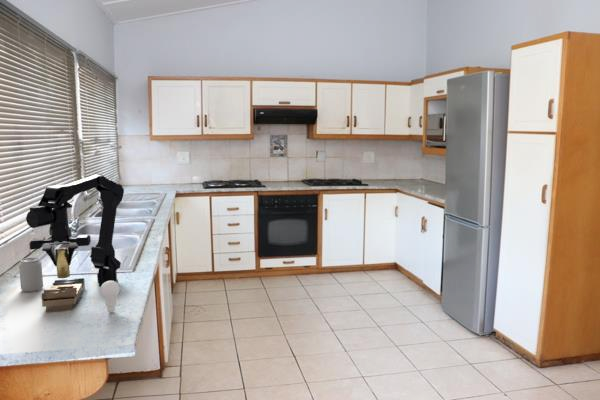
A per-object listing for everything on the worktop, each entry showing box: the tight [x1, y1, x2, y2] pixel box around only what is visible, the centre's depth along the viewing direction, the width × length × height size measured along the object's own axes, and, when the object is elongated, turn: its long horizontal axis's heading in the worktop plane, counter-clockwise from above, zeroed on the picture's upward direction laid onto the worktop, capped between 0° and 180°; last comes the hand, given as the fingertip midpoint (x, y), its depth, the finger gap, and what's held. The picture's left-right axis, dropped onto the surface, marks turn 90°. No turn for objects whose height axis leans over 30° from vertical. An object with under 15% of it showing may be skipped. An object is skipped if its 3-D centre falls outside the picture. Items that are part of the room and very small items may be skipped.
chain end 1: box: [40, 284, 82, 313], centre depth 174 cm, size 10×16×6 cm, turn 15°
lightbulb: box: [99, 281, 121, 314], centre depth 165 cm, size 6×6×11 cm
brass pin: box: [55, 247, 71, 279], centre depth 175 cm, size 4×4×10 cm
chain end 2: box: [52, 277, 86, 305], centre depth 180 cm, size 10×16×4 cm, turn 15°
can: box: [18, 256, 44, 293], centre depth 187 cm, size 8×8×12 cm
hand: (62, 265), depth 175 cm, fingers closed on brass pin, 4 cm apart
